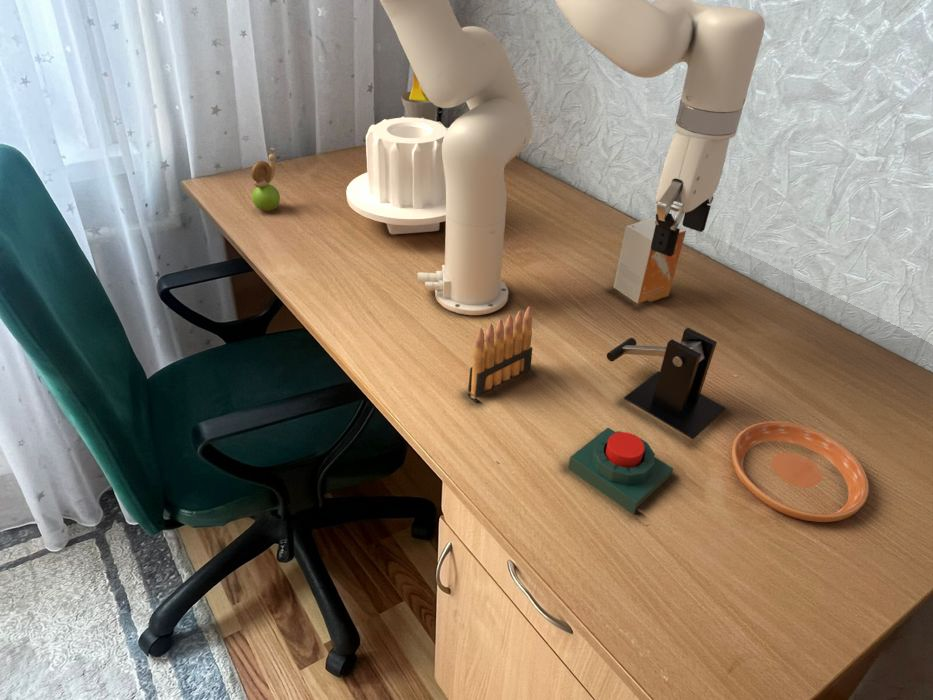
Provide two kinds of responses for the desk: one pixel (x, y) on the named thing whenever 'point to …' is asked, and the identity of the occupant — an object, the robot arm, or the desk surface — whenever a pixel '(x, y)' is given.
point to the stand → (680, 387)
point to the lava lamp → (418, 103)
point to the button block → (619, 472)
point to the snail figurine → (265, 184)
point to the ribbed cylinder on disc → (402, 176)
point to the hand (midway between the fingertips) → (677, 240)
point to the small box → (645, 264)
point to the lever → (648, 349)
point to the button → (624, 449)
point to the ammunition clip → (501, 354)
